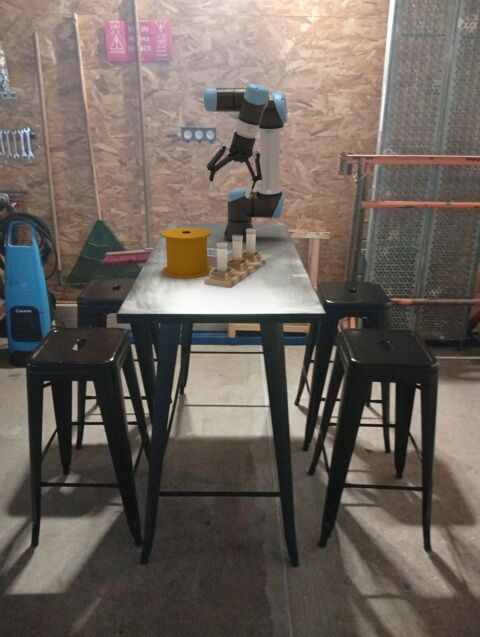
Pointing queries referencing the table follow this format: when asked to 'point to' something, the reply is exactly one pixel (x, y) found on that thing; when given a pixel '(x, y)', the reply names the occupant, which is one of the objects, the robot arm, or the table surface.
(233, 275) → the fuse block
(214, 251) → the tray
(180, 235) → the spool
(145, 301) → the table surface
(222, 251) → the fuse
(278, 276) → the table surface
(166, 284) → the table surface
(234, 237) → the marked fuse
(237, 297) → the table surface
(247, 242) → the fuse
